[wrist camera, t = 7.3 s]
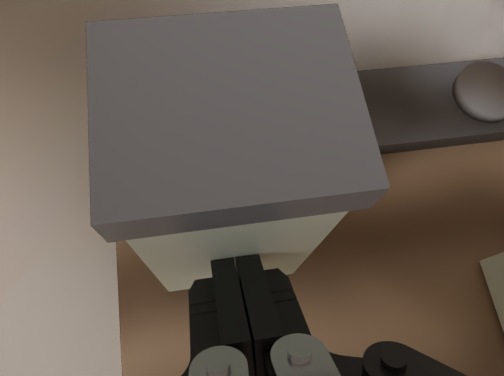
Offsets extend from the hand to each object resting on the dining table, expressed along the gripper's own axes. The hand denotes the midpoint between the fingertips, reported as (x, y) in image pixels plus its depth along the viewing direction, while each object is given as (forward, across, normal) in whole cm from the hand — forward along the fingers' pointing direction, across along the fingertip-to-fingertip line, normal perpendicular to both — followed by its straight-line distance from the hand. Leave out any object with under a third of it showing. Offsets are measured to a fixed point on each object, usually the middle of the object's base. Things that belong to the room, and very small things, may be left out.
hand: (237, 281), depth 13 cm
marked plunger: (+5, 0, -1) cm, 5 cm away
